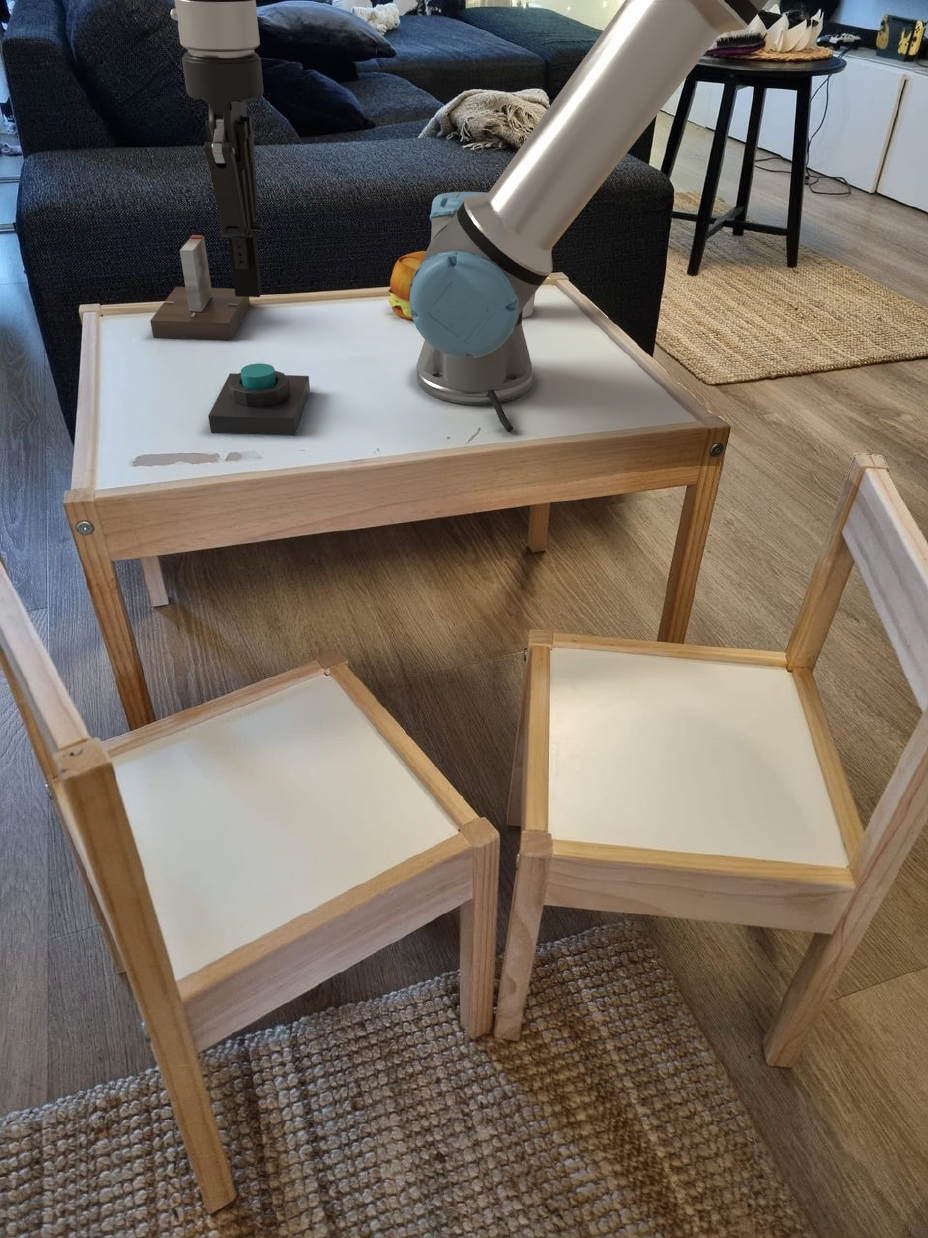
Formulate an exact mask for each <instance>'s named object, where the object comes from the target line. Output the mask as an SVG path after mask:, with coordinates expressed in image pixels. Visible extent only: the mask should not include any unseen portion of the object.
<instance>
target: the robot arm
mask: <svg viewBox="0 0 928 1238" xmlns="http://www.w3.org/2000/svg"><path fill="white" fill-rule="evenodd" d="M769 1H770V0H624V2H623V3H622V4H621V6H620V7H619V9H618V10H617V11H616V13H615V14H614V16H613V17H612V18H611V20H610V21H609V23H608V24H607V25H606V27H605V28H604V29H603V31H602V33H601V34H600V35H599V36H598V38H597V39H596V41H595V42H594V44H593V45H592V47H591V48H590V49H589V51H588V52H587V53H586V55H585V56H584V57H583V59H582V61H580V63H579V65H578V66H577V67H576V69H575V70H574V72H573V73H572V75H571V76H570V77H569V79H568V80H567V82H566V83H565V85H564V86H563V87H562V89H561V90H560V91H559V93H558V94H557V96H556V97H555V98H554V100H553V101H552V103H551V104H550V106H549V107H548V108H547V110H546V111H545V113H544V114H543V115H542V117H541V118H540V120H539V121H538V123H537V124H536V125H535V127H534V128H533V129H532V131H531V132H530V134H529V135H528V136H527V138H526V139H525V141H524V142H523V143H522V145H521V146H520V148H518V150H517V152H516V153H515V155H514V156H513V157H512V159H511V161H510V162H509V164H508V165H507V166H506V167H505V169H504V170H503V172H502V173H501V175H500V176H499V178H498V179H497V180H496V182H494V184H493V186H492V187H491V189H490V190H489V191H487V192H485V191H484V192H483V191H453V192H451V191H450V192H444V193H440V194H438V195H436V196H435V197H434V199H432V202H431V212H430V215H429V221H430V222H431V231H430V232H431V236H430V243H429V246H428V247H427V249H426V253H425V255H424V257H423V260H422V262H421V264H420V266H419V267H418V269H417V270H416V272H415V273H414V276H413V278H412V282H411V285H410V311H411V315H412V319H413V320H412V321H413V324H414V326H415V328H416V329H417V332H418V333H419V334H420V335H421V338H423V339H424V341H423V344H422V347H421V350H420V353H419V356H418V359H417V362H416V383H417V385H418V386H419V388H421V390H423V392H425V393H427V394H428V395H430V396H432V397H434V398H436V399H439V400H442V401H446V402H451V403H454V404H455V403H456V404H462V405H475V406H477V405H479V406H480V405H492V406H493V408H494V411H495V413H496V415H497V417H498V420H499V422H500V423H501V425H502V427H503V428H504V430H505V431H506V432H507V433H512V432H513V431H514V426H513V425H512V424H511V422H510V421H509V419H508V418H507V415H506V413H505V410H504V409H503V406H502V404H501V403H506V402H509V401H512V400H515V399H517V398H519V397H521V396H523V395H525V394H526V393H527V392H529V390H530V389H531V386H532V385H533V374H534V373H533V372H534V371H533V363H532V360H531V356H530V353H529V348H528V344H527V341H526V340H527V339H526V336H525V333H524V328H523V318H522V315H523V307H524V306H525V305H526V303H527V302H528V301H529V300H530V298H531V297H532V296H533V295H534V293H535V292H537V291H538V290H539V289H540V288H541V286H542V285H543V284H544V283H545V282H546V280H547V278H548V277H549V276H550V274H551V273H552V272H553V270H554V268H553V258H552V257H553V256H552V252H553V251H552V250H553V248H554V246H555V245H556V244H557V242H558V241H559V240H560V239H561V237H562V236H563V235H564V233H565V232H566V231H567V230H568V228H569V227H570V226H571V224H572V223H573V222H574V221H575V219H576V218H577V217H578V216H579V215H580V213H581V212H582V210H583V209H584V208H586V205H587V204H588V203H589V202H590V201H591V199H592V198H593V196H594V195H596V193H597V192H598V190H599V189H600V188H601V186H602V185H603V184H604V182H605V181H606V180H607V179H608V177H610V175H611V174H612V172H613V171H614V170H615V168H616V167H617V166H618V165H619V163H620V162H621V161H622V159H624V157H625V156H626V155H627V153H628V152H629V151H630V150H631V148H632V147H633V146H634V144H635V143H636V142H637V140H638V139H639V138H640V137H641V136H642V134H643V133H644V132H645V130H646V129H647V128H648V127H649V125H650V124H651V123H652V121H653V120H654V119H655V117H656V116H657V115H658V114H659V112H660V111H661V110H662V109H663V108H664V106H665V105H666V104H667V102H668V101H669V100H670V98H671V97H673V95H674V94H675V92H676V91H677V90H678V89H679V87H680V86H681V84H682V83H683V82H684V81H685V79H686V78H687V77H688V75H689V74H690V73H691V72H692V70H693V69H694V68H695V67H696V66H697V64H698V63H699V62H700V60H701V59H702V58H703V56H704V55H705V54H706V53H707V52H708V50H709V49H710V48H711V46H712V45H713V44H714V42H715V41H716V40H717V39H718V38H719V36H722V35H724V34H726V33H732V32H738V31H742V30H746V29H747V28H748V27H749V26H750V24H751V23H752V22H753V20H754V19H755V18H756V17H757V16H758V14H759V13H760V12H761V11H762V9H763V8H764V7H765V6H766V5H767V3H768V2H769ZM174 7H175V8H171V10H170V14H169V15H170V18H171V19H172V20H173V21H177V28H178V37H179V44H180V45H181V46H182V47H183V48H184V49H186V50H187V52H185V53H184V54H183V56H181V63H182V69H183V76H184V83H185V91H186V94H187V95H188V96H189V97H190V98H191V99H194V100H196V101H204V102H205V103H206V104H207V106H208V119H206V120H205V132H206V138H207V140H208V141H204V144H203V145H204V146H203V151H204V154H205V157H206V160H207V162H208V166H209V172H210V175H211V176H210V177H211V182H212V188H213V193H214V197H215V203H216V208H217V213H218V218H219V224H220V231H219V233H218V234H219V237H220V238H227V240H228V247H229V249H228V250H229V257H230V264H231V270H232V280H233V287H234V288H233V289H235V296H238V297H249V298H260V297H261V295H262V293H263V289H262V279H261V267H260V259H259V251H258V241H257V233H256V231H257V232H263V230H264V229H263V228H264V225H263V223H262V222H256V221H257V220H258V219H259V215H260V212H259V207H258V205H259V204H258V191H257V190H258V188H257V171H256V156H255V128H256V125H255V123H254V120H253V119H252V117H251V116H247V115H248V113H247V112H248V111H247V107H246V102H252V101H255V100H258V99H260V98H261V97H263V94H264V81H263V80H264V79H263V69H262V58H261V57H260V56H259V54H258V53H256V52H255V50H256V49H257V48H259V46H260V45H261V41H260V31H259V21H258V12H257V11H258V10H257V1H256V0H174ZM254 231H255V232H254ZM535 294H536V293H535Z"/></svg>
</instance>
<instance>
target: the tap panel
mask: <svg viewBox="0 0 928 1238" xmlns="http://www.w3.org/2000/svg"><path fill="white" fill-rule="evenodd" d="M211 289H212V298H211V299H210V300H209V302H208V303H207V305H206V306H205V308H204V309H203V311H202V312H193V311H189V306H188V299H187V293H186V287H185V286H175V287H174V289H172V291H171V293H170V294H169V295H168V297H167V298H166V299H165V300H164V302H163V303H162V305H160V307H159V308H158V310H157V311H156V312H155V314H154V315H153V316H152V318H151V319H150V320H149V322H150V327H151V333H152V338H154V339H180V340H181V339H182V340H183V339H184V340H208V341H209V340H214V341H232V339H233V337H234V335H235V334H236V332H237V330H238V328H239V326H240V324H241V323H242V321H243V319H244V318H245V315H246V314H247V312H248V310H249V308H250V306H251V301H250V297H238V296H235V289H234V288H227V287H226V288H225V287H224V288H223V287H211Z"/></svg>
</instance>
